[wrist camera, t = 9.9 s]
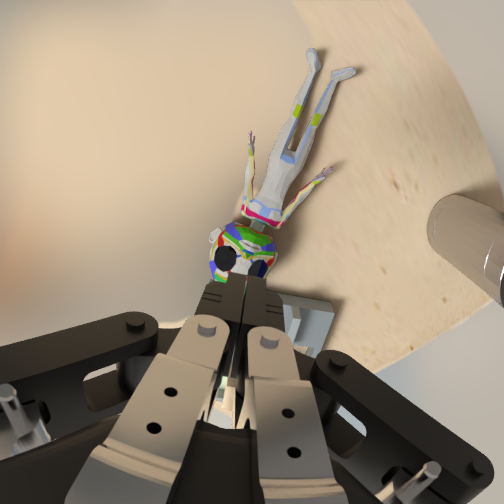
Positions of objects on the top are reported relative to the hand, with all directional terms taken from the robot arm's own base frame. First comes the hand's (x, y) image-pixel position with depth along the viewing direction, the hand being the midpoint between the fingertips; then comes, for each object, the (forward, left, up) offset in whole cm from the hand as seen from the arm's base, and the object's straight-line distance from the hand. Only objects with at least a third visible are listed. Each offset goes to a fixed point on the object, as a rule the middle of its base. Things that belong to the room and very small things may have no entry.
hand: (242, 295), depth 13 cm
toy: (-2, -3, -28) cm, 28 cm away
